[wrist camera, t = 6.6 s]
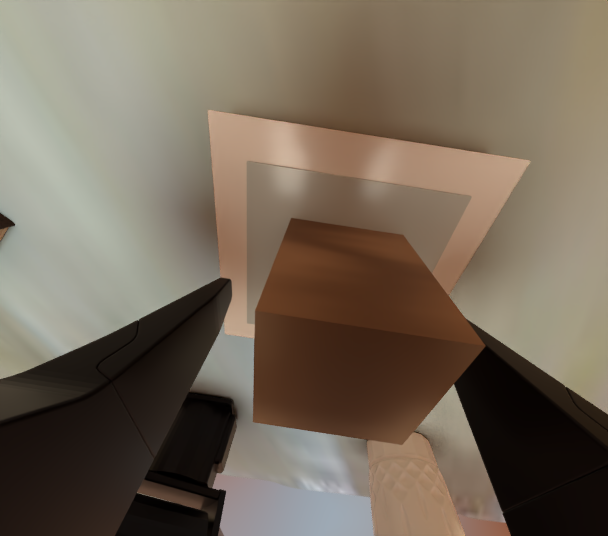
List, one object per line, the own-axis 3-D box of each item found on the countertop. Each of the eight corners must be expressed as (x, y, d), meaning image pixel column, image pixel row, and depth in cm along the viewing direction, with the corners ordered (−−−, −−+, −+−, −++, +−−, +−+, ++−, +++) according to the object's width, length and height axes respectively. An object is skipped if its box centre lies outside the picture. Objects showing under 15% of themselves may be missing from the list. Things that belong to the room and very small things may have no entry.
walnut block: (282, 303, 13) (253, 421, 7) (291, 217, 10) (255, 310, 5) (371, 317, 13) (402, 445, 7) (403, 234, 10) (485, 346, 5)
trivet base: (237, 307, 17) (223, 336, 14) (231, 113, 10) (205, 109, 8) (397, 332, 17) (408, 365, 14) (488, 154, 10) (535, 161, 8)
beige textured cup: (374, 420, 24) (402, 584, 15) (447, 433, 24) (516, 602, 15) (353, 450, 28) (365, 592, 19) (415, 461, 28) (454, 606, 19)
